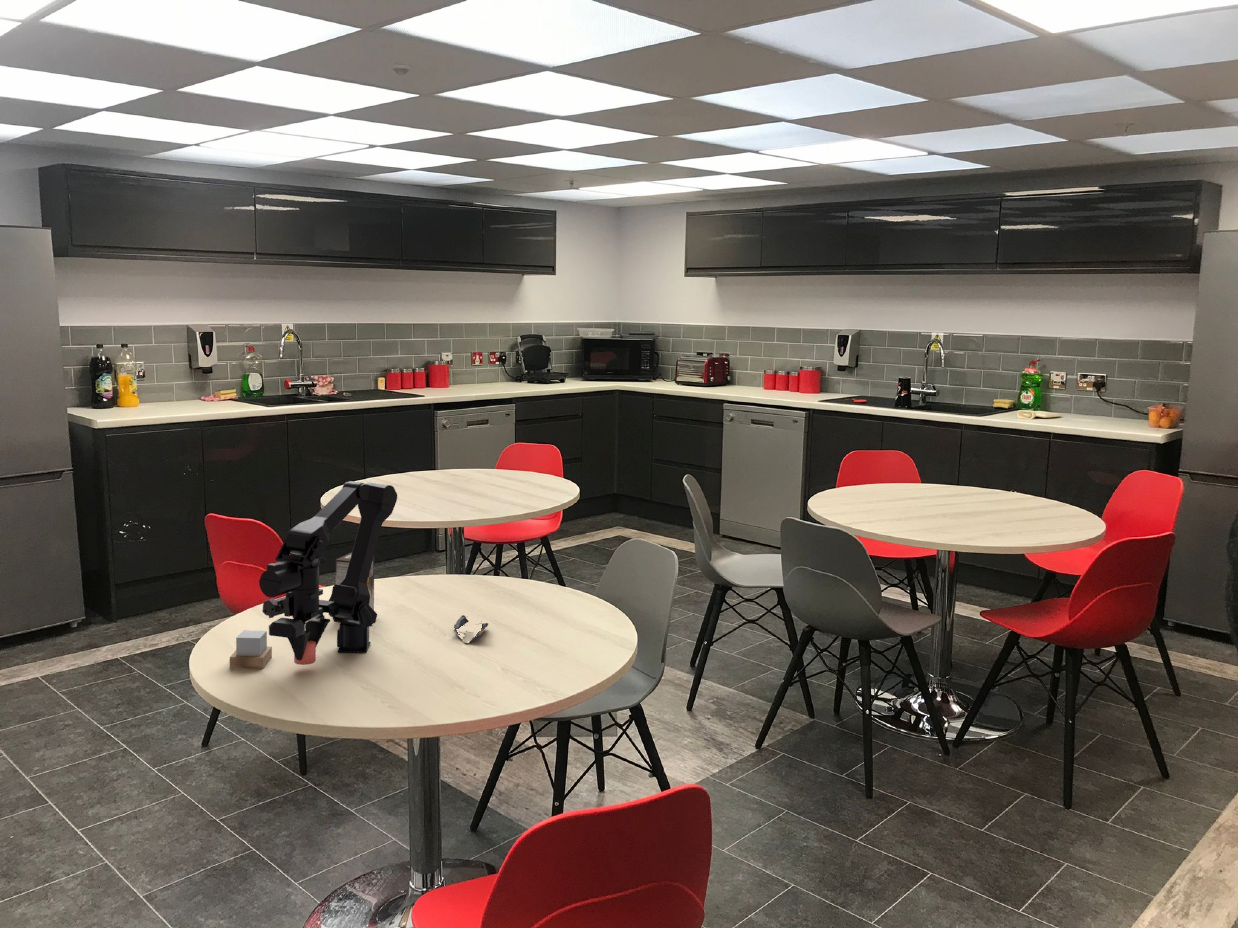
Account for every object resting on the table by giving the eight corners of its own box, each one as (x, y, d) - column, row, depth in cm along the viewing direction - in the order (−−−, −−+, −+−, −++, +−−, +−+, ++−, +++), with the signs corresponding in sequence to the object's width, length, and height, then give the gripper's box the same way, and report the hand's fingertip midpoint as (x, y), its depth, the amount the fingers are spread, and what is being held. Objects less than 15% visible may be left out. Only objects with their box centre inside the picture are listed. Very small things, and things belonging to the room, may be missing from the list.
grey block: (266, 648, 207) (266, 630, 206) (260, 655, 202) (260, 637, 201) (243, 647, 206) (243, 630, 206) (236, 655, 201) (236, 637, 201)
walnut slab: (271, 659, 208) (271, 646, 208) (263, 670, 201) (263, 657, 201) (239, 659, 208) (239, 646, 207) (229, 670, 201) (229, 657, 200)
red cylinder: (317, 657, 204) (317, 640, 203) (313, 664, 200) (313, 646, 199) (296, 657, 204) (296, 639, 203) (292, 664, 199) (292, 646, 199)
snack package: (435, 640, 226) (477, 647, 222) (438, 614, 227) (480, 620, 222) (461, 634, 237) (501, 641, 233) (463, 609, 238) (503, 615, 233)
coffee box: (352, 610, 245) (352, 551, 243) (374, 613, 244) (375, 553, 241) (334, 620, 236) (335, 559, 234) (358, 623, 235) (358, 561, 233)
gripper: (294, 572, 210) (294, 638, 212) (245, 593, 192) (245, 666, 194) (339, 577, 208) (339, 644, 210) (294, 599, 190) (294, 672, 192)
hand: (305, 656), depth 201 cm, fingers closed on red cylinder, 4 cm apart
